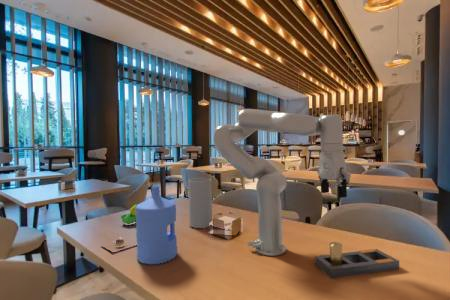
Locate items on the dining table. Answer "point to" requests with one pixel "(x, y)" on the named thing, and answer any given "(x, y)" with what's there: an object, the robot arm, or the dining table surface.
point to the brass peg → (335, 253)
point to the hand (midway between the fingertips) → (333, 194)
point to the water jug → (156, 229)
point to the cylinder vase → (200, 202)
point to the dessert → (119, 242)
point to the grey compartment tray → (363, 265)
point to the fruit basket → (130, 216)
